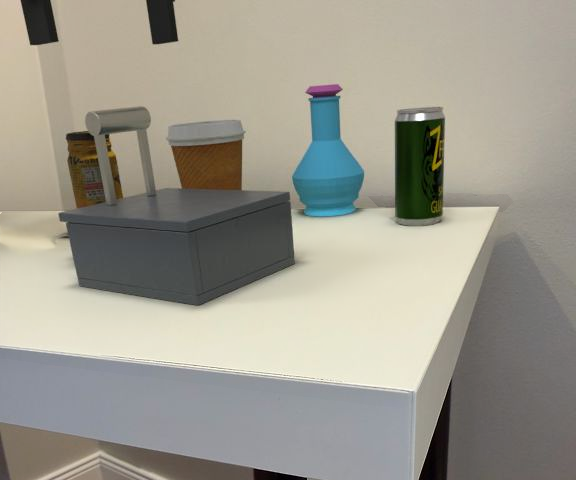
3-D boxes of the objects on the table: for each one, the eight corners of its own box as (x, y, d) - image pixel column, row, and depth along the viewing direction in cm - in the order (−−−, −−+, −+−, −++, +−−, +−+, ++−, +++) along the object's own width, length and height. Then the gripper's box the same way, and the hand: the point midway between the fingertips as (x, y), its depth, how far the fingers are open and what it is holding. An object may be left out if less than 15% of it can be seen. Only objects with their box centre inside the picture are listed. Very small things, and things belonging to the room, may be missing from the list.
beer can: (390, 226, 74) (389, 111, 69) (400, 216, 79) (400, 108, 74) (438, 226, 72) (440, 108, 67) (446, 216, 77) (449, 105, 72)
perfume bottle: (329, 202, 91) (323, 84, 85) (380, 207, 85) (377, 80, 79) (280, 214, 86) (270, 89, 80) (330, 221, 79) (324, 85, 73)
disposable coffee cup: (191, 236, 77) (176, 128, 72) (170, 224, 85) (156, 126, 80) (265, 224, 81) (256, 119, 76) (239, 214, 89) (229, 118, 84)
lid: (59, 221, 59) (36, 116, 55) (167, 195, 68) (154, 104, 65) (188, 232, 50) (170, 107, 46) (290, 200, 60) (283, 95, 56)
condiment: (139, 222, 89) (123, 127, 84) (112, 236, 81) (93, 133, 76) (90, 224, 90) (71, 131, 85) (59, 238, 83) (37, 137, 78)
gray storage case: (78, 286, 61) (65, 222, 58) (181, 251, 70) (173, 196, 68) (198, 305, 52) (188, 232, 50) (295, 263, 62) (290, 201, 60)
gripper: (-87, -382, 37) (8, 38, 46) (205, -244, 55) (233, 38, 64) (-147, -327, 41) (-48, 49, 50) (143, -216, 59) (178, 46, 68)
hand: (110, 43), depth 57 cm, fingers open, 13 cm apart
